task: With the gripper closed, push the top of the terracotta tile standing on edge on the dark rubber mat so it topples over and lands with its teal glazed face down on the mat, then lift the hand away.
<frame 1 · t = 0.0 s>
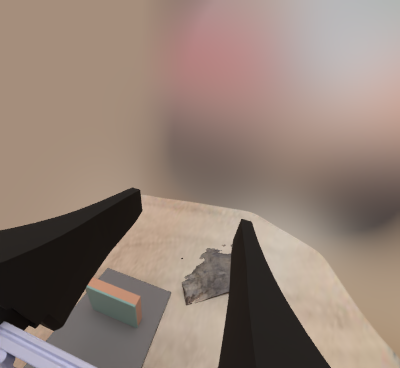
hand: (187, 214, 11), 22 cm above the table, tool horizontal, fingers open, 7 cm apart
mat: (101, 342, 20), on the table
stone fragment: (223, 268, 32), on the table
tile: (117, 313, 22), resting on mat
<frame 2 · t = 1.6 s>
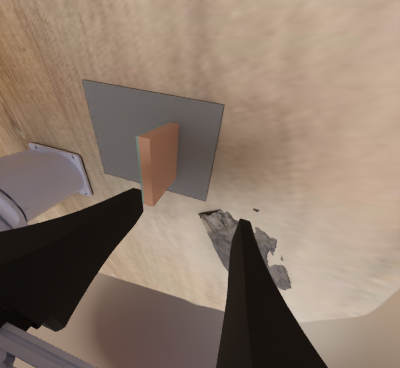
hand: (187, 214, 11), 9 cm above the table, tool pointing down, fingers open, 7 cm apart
mat: (151, 146, 20), on the table
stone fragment: (247, 247, 26), on the table
tile: (172, 152, 19), resting on mat
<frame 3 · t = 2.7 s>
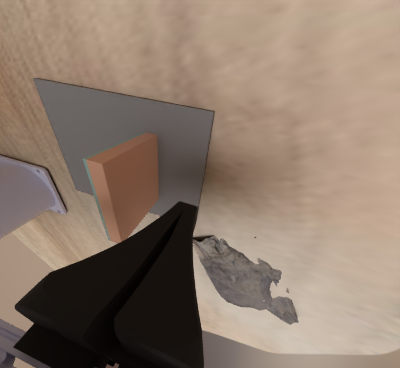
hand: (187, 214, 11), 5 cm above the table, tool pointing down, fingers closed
mat: (127, 160, 16), on the table
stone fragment: (246, 274, 22), on the table
tile: (152, 169, 15), resting on mat
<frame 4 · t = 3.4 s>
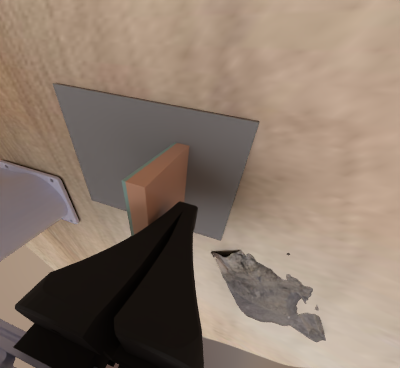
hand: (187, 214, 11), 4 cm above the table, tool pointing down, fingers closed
mat: (151, 171, 15), on the table
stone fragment: (270, 289, 21), on the table
tile: (179, 181, 14), resting on mat, touching gripper
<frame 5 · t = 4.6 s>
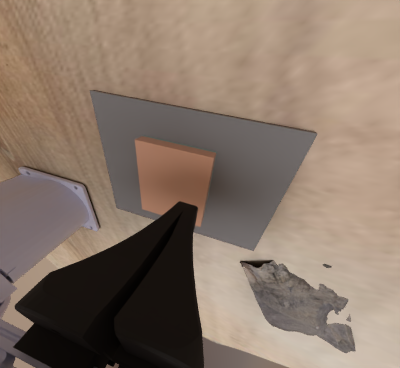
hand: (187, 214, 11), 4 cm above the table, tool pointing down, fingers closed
mat: (185, 180, 14), on the table
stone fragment: (298, 299, 20), on the table
tile: (207, 193, 13), point 1 cm above the table, tilted 90°, touching mat
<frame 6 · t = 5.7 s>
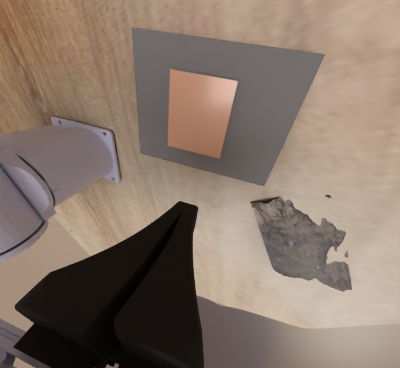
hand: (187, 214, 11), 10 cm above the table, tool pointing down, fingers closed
mat: (207, 117, 16), on the table
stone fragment: (302, 241, 22), on the table
tile: (228, 123, 15), point 1 cm above the table, tilted 90°, touching mat
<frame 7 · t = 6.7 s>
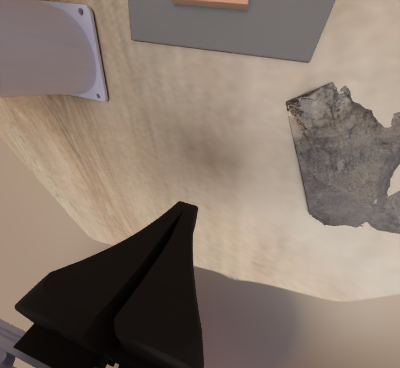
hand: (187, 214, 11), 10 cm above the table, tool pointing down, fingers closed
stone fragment: (352, 166, 17), on the table
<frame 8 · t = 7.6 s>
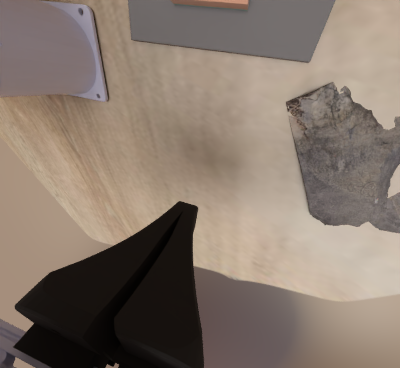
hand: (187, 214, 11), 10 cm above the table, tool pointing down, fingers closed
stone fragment: (353, 166, 16), on the table
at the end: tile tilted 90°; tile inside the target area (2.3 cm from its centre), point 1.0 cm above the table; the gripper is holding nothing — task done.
